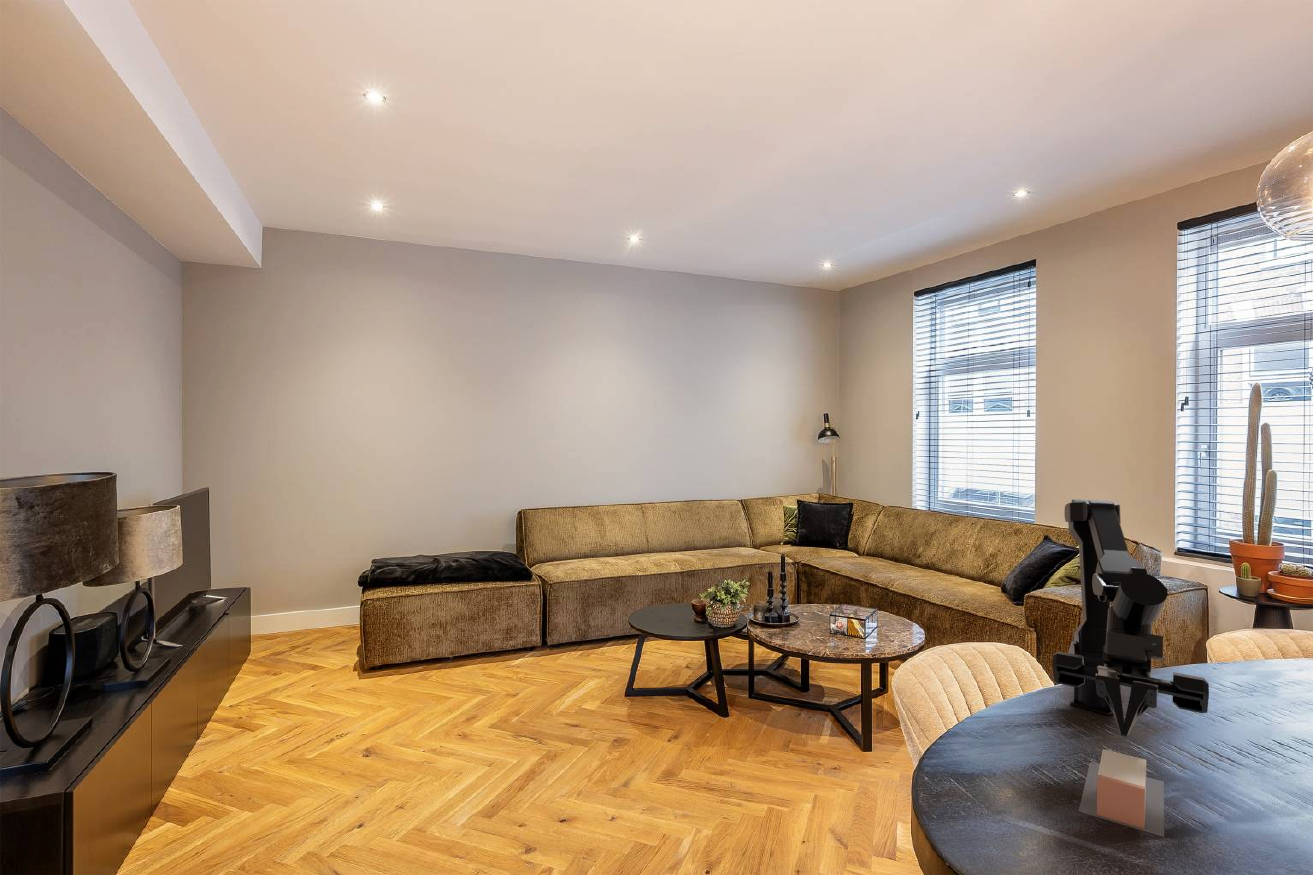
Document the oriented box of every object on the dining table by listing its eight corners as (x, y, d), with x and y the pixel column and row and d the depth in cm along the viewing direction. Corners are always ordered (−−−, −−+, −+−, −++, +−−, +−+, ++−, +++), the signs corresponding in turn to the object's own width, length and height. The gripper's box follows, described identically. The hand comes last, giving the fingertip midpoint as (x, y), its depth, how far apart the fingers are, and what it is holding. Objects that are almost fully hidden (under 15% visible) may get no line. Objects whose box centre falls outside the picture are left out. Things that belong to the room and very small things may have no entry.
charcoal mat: (1089, 765, 101) (1089, 762, 101) (1164, 785, 95) (1164, 781, 95) (1078, 814, 87) (1078, 810, 87) (1164, 840, 82) (1164, 836, 82)
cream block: (1102, 748, 94) (1097, 776, 86) (1146, 759, 91) (1144, 789, 83) (1102, 783, 94) (1096, 814, 86) (1145, 795, 91) (1144, 828, 83)
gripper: (1054, 599, 103) (1043, 691, 95) (1209, 621, 92) (1212, 727, 83) (1060, 637, 110) (1050, 726, 101) (1205, 662, 98) (1208, 765, 90)
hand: (1123, 734), depth 94 cm, fingers closed
